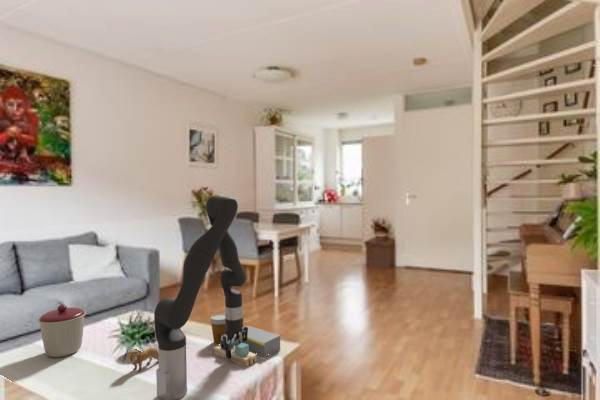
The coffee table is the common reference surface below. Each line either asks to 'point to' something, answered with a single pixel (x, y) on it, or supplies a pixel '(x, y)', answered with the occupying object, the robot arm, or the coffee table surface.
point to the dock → (261, 341)
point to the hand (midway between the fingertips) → (234, 355)
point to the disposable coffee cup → (218, 326)
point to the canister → (62, 330)
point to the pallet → (236, 356)
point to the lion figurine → (142, 357)
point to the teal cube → (242, 349)
